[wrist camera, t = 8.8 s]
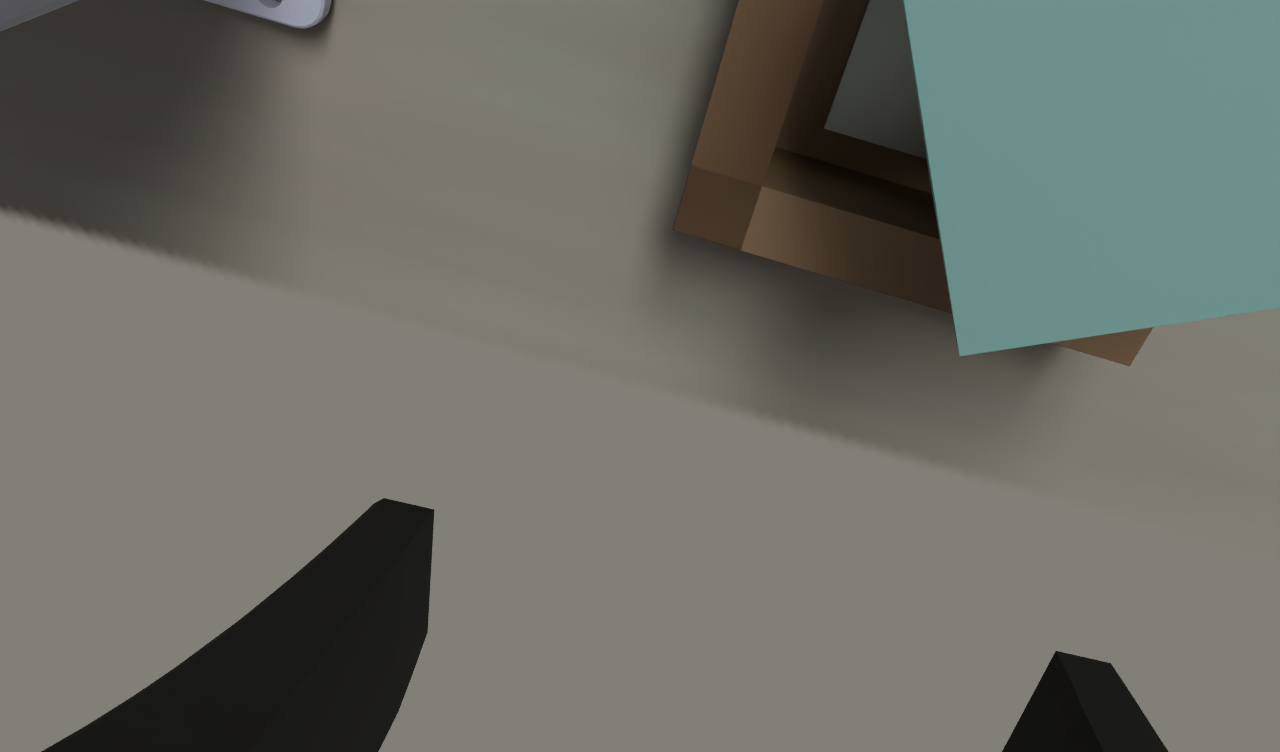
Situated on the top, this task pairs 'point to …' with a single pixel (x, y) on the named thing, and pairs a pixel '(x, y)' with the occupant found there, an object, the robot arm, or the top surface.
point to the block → (1100, 162)
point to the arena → (828, 154)
